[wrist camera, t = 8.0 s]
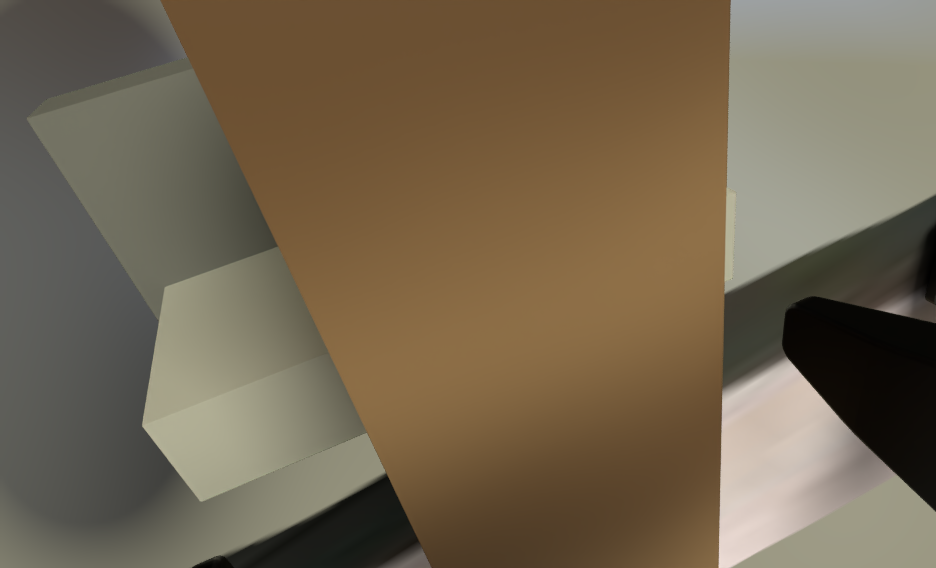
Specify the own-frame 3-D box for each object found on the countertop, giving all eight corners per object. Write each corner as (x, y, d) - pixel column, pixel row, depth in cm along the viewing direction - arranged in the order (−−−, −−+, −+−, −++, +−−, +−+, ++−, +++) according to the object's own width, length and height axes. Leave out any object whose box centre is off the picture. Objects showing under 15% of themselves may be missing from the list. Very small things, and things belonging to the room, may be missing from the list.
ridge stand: (581, -60, 14) (773, -55, 9) (614, 285, 20) (744, 403, 15) (45, 99, 12) (-76, 215, 7) (253, 432, 18) (264, 625, 13)
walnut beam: (613, 540, 16) (715, 700, 12) (472, 609, 15) (541, 796, 12) (489, -264, 7) (739, -445, 3) (126, -176, 6) (17, -297, 3)
